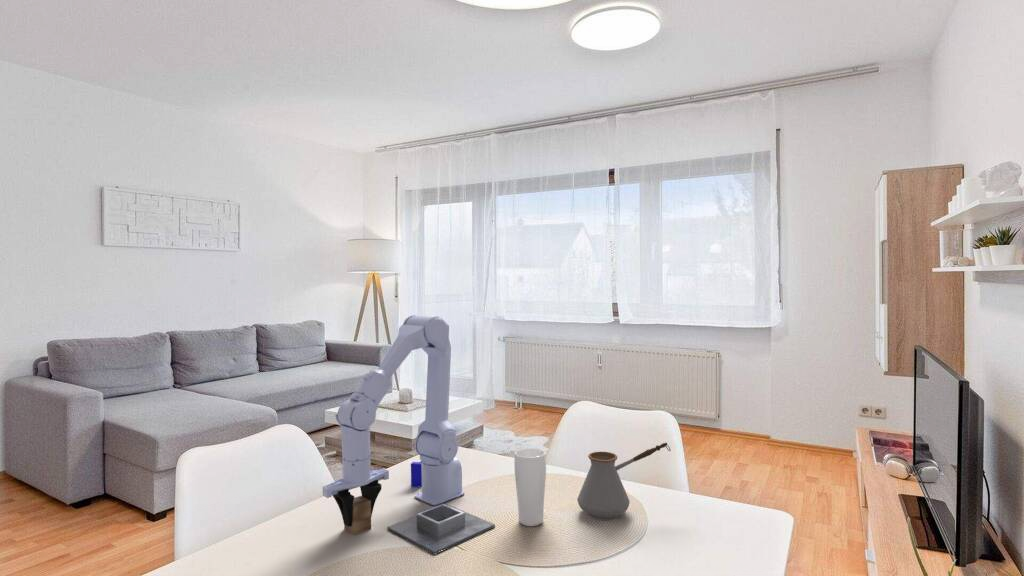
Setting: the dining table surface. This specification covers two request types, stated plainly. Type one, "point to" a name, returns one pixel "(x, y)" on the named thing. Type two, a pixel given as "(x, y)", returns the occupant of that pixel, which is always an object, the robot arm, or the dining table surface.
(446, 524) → the grey square socket base
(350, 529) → the rail end post
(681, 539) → the dining table surface
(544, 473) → the drinking glass
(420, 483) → the blue rectangular block
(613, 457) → the coffee pot
